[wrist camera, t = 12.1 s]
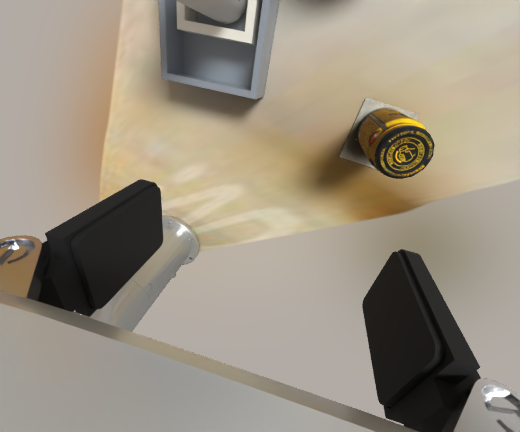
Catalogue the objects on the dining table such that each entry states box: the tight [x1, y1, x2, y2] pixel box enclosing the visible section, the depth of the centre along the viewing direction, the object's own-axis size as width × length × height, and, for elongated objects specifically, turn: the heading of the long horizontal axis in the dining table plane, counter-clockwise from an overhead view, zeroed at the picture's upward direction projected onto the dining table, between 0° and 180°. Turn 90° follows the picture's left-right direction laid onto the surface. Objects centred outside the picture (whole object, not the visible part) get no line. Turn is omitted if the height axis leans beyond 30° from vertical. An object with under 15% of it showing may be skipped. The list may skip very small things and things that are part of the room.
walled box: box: [159, 0, 279, 99], centre depth 29 cm, size 16×13×5 cm
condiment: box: [339, 97, 434, 179], centre depth 29 cm, size 7×8×12 cm
